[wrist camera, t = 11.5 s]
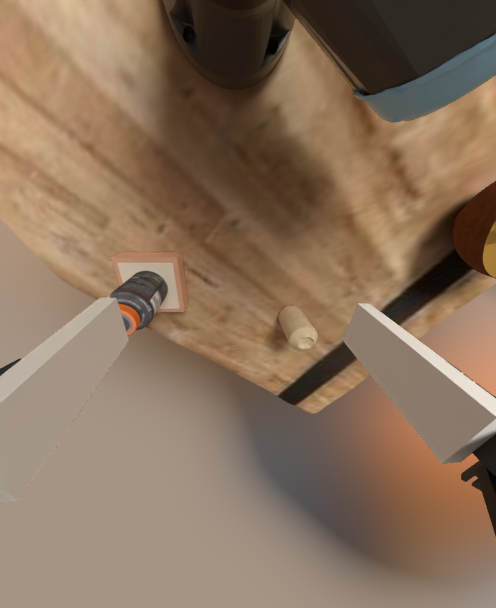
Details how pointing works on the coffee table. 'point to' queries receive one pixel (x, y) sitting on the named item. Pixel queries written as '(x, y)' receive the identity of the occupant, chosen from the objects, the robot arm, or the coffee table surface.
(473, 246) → the bowl
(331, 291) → the coffee table surface
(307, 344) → the candle
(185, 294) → the riser
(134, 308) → the pill bottle
